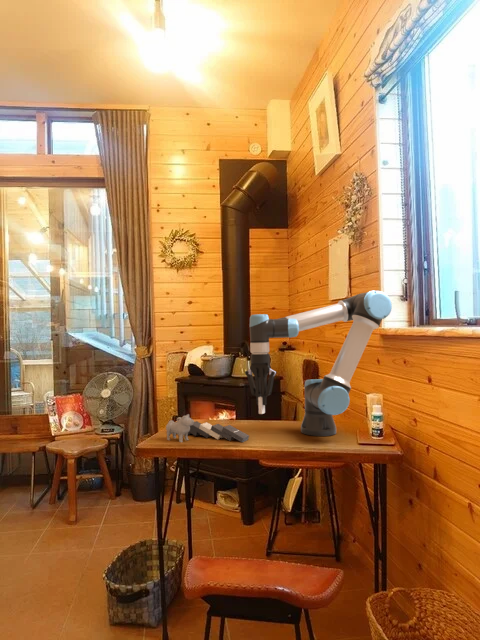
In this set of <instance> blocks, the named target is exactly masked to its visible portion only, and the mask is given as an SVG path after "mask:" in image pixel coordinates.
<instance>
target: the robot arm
mask: <svg viewBox="0 0 480 640" xmlns="http://www.w3.org/2000/svg"><path fill="white" fill-rule="evenodd" d="M391 312H392V302H391V299H390V296H389V295H387V294H386V293H385V292H384V291H381V290H369V291H366V292H361V293H359V294H358V293H357V294H355V295H353V296H351V297H347V298H345V299H342V300H338V302H337V303H334V304H331V305H326V306H324V307H318V308H314V309H312V310H307V311H304V312H299V313H295V314H291V315H288V316H285V317H279V318H274V319H273V318H269V315H268V314H265V313H263V314H261V313H259V314H258V313H257V314H251V315H250V317H249V338H250V339H249V341H250V347H249V349H250V350H249V351H250V353H251V354H250V366H249V369H248V370H246V371H244V374H245V375H246V377H247V381H248V385H249V388H250V393H251V395H252V396H255V397H256V399H255V401H256V403H255V404H256V405H257V406H258V414H259V415H263V414H265V413H266V406H267V404H268V403H267V400H268V399H267V397H268V396H270V395H271V396H272V391H273V386H274V379H275V376H276V375H277V373H278V372H277V371H276V370H274V369H272V367H271V364H270V363H271V359H270V354H269V352H270V339H273V338H276V339H277V338H279V339H280V338H281V339H282V338H283V339H284V338H285V339H286V338H289V339H291V338H296V337H297V336H298V335H299V332H302V331H305V330H311V329H314V328H317V327H318V328H319V327H321V326H325V325H326V326H327V325H329V324H333V323H338V322H344V323H347V322H350V321H353V322H352V324H351V326H350V328H349V330H348V332H347V335H346V337H345V340H344V342H343V344H342V345H341V348H340V349H339V353H338V354H337V357H336V359H335V361H334V364H333V366H332V368H331V370H330V372H329V373H328V374H326V375H324V376H323V378H318V379H317V378H315V379H306V380H304V386H303V388H304V416H303V419H302V422H301V425H300V433H301V434H304V435H308V436H313V437H314V436H315V437H327V436H328V437H331V436H334V435H336V434H337V426H336V422H335V420H334V417H333V416H337V415H340V414H343V413H344V412H345V411H346V410H347V409H348V407H349V406H350V401H351V399H350V395H349V394H350V393H351V389H352V386H351V384H350V383H351V380H352V377H353V376H354V373H355V371H356V369H357V368H358V364H359V363H360V360H361V358H362V356H363V353H364V351H365V349H366V347H367V345H368V343H369V341H370V339H371V335H372V333H373V332H374V330H376V329H379V327H380V325H381V323H382V321H383V320H384V319H386V318H387V317H388V316H390V314H391ZM268 375H269V377H268ZM267 379H268V381H267Z"/></svg>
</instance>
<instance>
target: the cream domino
mask: <svg viewBox="0 0 480 640" xmlns="http://www.w3.org/2000/svg"><path fill="white" fill-rule="evenodd" d="M212 426H213V425H212V424H211V423H209V422H207V421H206V422H204V423H201V424H200V427H199V429H201V430H203V431H204V432H206V433H208V434H209V435H211V436H212V438H214V439H216V440H220V438H221V439H223V438H224V437H222V436H221V435H219V434H217V433H215V432H213V431H212V430H211V427H212Z"/></svg>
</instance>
